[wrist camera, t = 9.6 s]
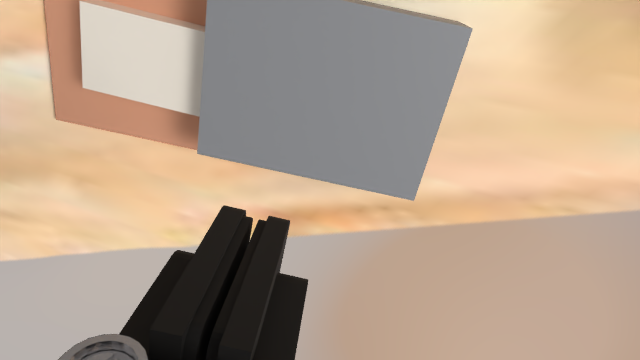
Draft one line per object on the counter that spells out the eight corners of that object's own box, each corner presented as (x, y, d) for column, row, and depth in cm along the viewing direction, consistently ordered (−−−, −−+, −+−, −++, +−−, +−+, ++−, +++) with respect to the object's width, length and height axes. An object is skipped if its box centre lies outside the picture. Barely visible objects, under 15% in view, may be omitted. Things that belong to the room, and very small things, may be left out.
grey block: (214, 134, 34) (197, 153, 30) (228, -29, 28) (209, -29, 25) (408, 176, 34) (413, 200, 30) (459, 21, 28) (472, 28, 25)
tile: (98, 81, 32) (82, 87, 31) (96, -1, 30) (79, 0, 28) (211, 109, 32) (202, 117, 31) (220, 30, 30) (211, 33, 28)
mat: (59, 117, 34) (56, 119, 34) (38, -95, 28) (34, -96, 27) (213, 151, 34) (211, 153, 34) (230, -54, 28) (228, -54, 27)
